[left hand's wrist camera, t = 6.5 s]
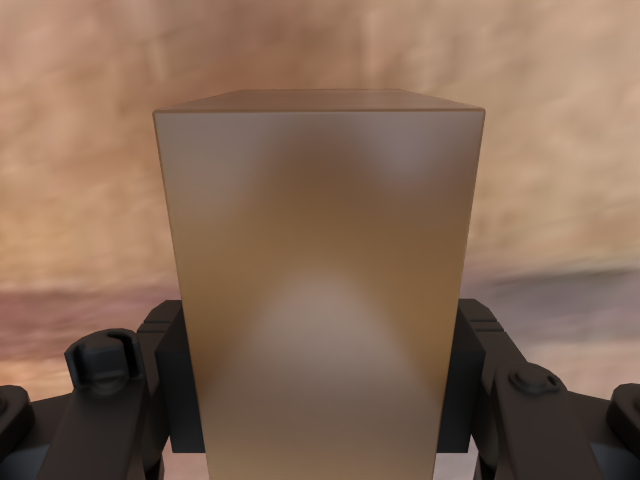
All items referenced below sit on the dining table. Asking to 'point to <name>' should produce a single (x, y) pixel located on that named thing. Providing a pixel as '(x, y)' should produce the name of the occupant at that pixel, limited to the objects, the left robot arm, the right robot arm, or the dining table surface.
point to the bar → (320, 274)
